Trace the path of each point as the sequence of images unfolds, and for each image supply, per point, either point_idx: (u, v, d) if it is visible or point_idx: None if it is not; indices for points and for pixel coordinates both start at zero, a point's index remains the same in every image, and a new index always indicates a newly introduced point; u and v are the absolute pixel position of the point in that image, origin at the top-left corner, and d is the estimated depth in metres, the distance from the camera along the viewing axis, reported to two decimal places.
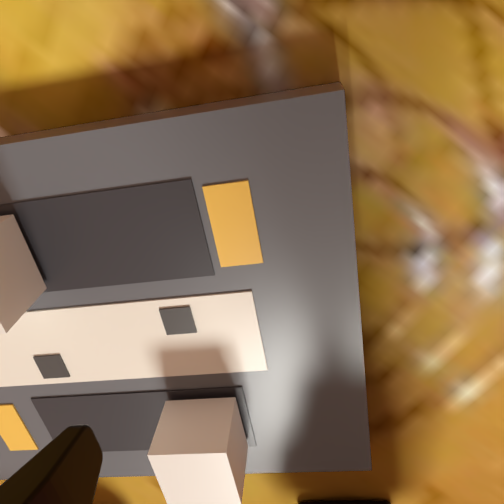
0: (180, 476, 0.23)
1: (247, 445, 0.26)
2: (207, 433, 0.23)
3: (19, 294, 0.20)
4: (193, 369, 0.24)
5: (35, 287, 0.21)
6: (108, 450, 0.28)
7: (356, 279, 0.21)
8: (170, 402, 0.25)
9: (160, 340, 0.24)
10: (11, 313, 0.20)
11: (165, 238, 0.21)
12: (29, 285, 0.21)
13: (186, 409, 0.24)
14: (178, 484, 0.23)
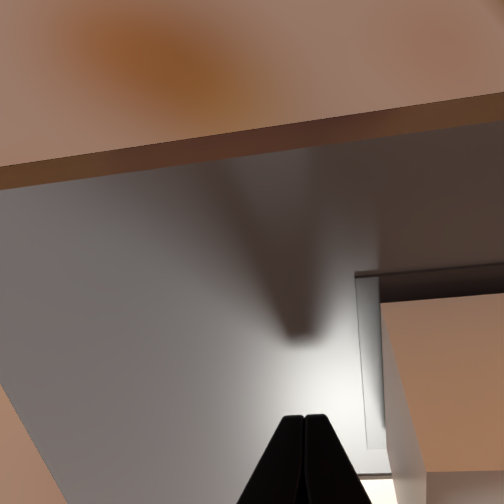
0: None
1: None
2: None
3: None
4: None
5: None
6: None
7: None
8: None
9: None
10: None
11: None
12: None
13: None
14: None
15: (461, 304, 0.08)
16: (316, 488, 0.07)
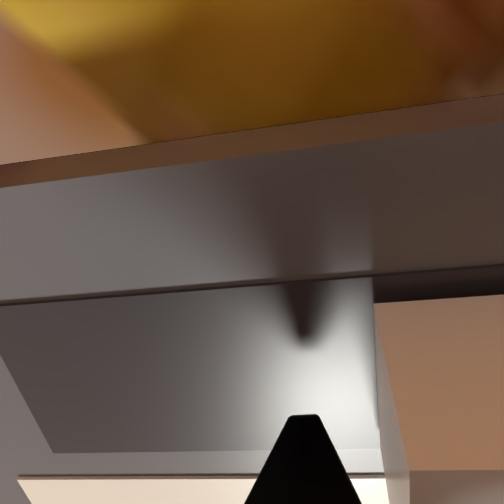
0: None
1: None
2: None
3: None
4: None
5: None
6: None
7: None
8: None
9: None
10: None
11: None
12: None
13: None
14: None
15: (453, 305, 0.08)
16: (307, 488, 0.07)
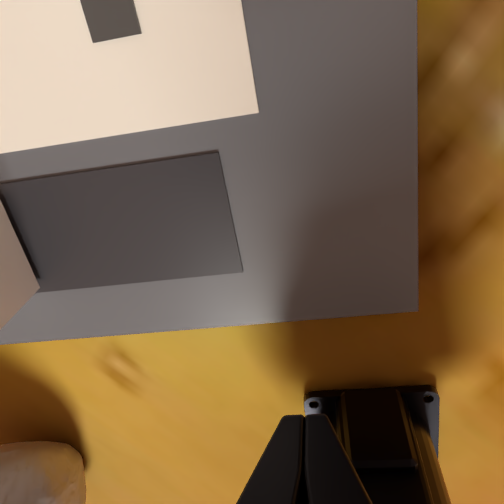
0: None
1: (37, 285, 0.18)
2: None
3: None
4: (141, 121, 0.15)
5: None
6: None
7: None
8: None
9: (84, 59, 0.14)
10: None
11: None
12: None
13: None
14: None
15: None
16: (316, 488, 0.07)
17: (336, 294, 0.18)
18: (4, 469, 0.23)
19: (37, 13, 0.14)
